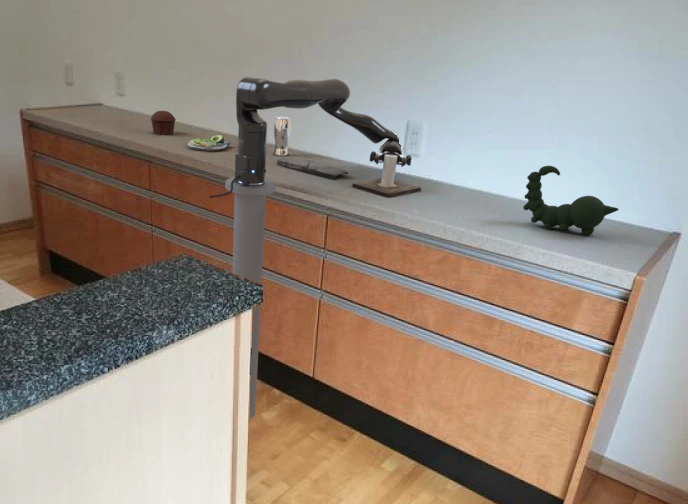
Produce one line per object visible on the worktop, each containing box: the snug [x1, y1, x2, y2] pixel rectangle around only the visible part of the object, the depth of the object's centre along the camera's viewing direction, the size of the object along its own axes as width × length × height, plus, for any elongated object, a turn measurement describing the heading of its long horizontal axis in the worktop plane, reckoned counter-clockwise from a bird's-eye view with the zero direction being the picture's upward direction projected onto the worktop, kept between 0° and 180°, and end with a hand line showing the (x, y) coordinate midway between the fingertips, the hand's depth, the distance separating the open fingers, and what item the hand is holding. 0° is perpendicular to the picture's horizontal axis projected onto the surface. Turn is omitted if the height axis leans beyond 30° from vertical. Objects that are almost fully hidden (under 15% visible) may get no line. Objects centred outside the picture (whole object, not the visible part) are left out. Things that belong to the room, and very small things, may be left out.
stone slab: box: [276, 157, 349, 181], centre depth 229 cm, size 10×3×30 cm
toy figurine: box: [523, 165, 619, 236], centre depth 174 cm, size 9×19×25 cm
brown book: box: [352, 177, 422, 198], centre depth 211 cm, size 18×16×1 cm
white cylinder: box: [380, 154, 397, 186], centre depth 208 cm, size 4×4×10 cm
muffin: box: [150, 110, 176, 136], centre depth 280 cm, size 12×11×10 cm
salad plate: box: [187, 134, 232, 152], centre depth 255 cm, size 19×18×5 cm
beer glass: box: [273, 116, 292, 157], centre depth 251 cm, size 7×7×15 cm
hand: (389, 162), depth 205 cm, fingers open, 8 cm apart
